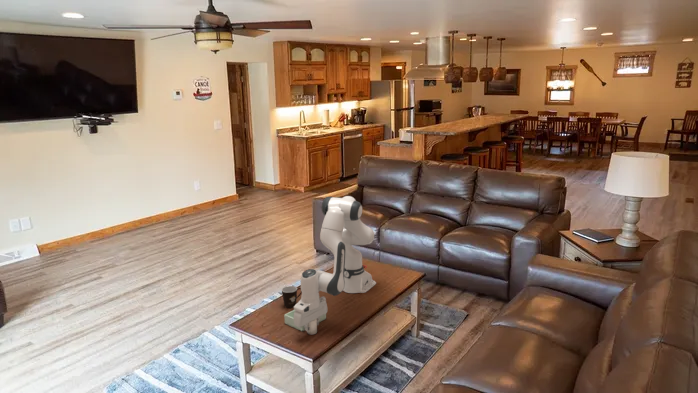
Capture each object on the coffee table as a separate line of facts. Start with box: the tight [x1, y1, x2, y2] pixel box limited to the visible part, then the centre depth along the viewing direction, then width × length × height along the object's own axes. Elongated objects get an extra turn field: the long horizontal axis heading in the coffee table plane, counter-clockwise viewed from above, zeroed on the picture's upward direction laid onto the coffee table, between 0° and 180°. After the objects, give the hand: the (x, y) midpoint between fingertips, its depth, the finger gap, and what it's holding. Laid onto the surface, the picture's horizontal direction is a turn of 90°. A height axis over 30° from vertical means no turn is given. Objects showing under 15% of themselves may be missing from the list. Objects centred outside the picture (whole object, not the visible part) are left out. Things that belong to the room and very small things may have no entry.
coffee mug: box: [281, 285, 302, 309], centre depth 267 cm, size 12×9×10 cm
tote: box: [283, 309, 327, 332], centre depth 249 cm, size 17×13×5 cm
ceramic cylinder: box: [306, 319, 318, 335], centre depth 238 cm, size 5×5×7 cm
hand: (311, 327), depth 238 cm, fingers closed on ceramic cylinder, 5 cm apart
